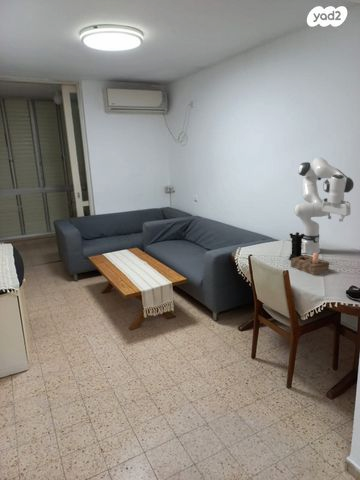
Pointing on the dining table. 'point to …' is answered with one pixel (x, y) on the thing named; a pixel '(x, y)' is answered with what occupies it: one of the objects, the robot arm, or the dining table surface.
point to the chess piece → (296, 245)
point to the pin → (315, 258)
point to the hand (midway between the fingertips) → (335, 220)
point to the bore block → (309, 265)
